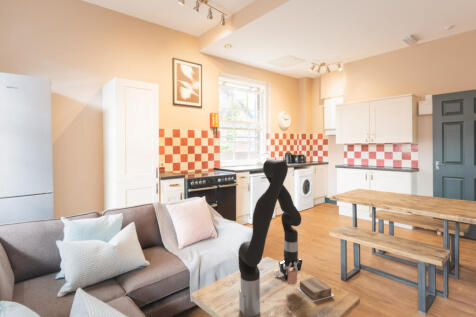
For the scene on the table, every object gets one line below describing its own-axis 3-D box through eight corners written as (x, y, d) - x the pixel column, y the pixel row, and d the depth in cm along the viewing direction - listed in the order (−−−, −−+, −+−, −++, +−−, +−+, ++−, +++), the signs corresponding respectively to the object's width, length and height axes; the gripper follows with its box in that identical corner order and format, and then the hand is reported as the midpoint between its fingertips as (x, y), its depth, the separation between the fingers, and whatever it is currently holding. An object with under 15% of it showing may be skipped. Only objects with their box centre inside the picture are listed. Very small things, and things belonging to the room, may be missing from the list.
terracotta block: (288, 283, 139) (289, 272, 138) (283, 279, 143) (284, 268, 143) (296, 282, 140) (297, 271, 140) (291, 277, 145) (291, 267, 145)
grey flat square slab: (312, 304, 131) (312, 302, 131) (296, 289, 144) (296, 287, 144) (334, 297, 137) (334, 295, 136) (317, 284, 150) (317, 282, 149)
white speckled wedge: (292, 266, 153) (272, 266, 156) (294, 281, 153) (273, 280, 156) (293, 262, 159) (273, 262, 162) (294, 275, 159) (274, 275, 162)
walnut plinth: (313, 300, 133) (313, 292, 133) (299, 288, 144) (299, 281, 144) (331, 295, 137) (331, 288, 137) (316, 284, 148) (316, 277, 148)
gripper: (283, 253, 135) (282, 285, 136) (306, 249, 140) (305, 280, 141) (275, 248, 142) (275, 278, 143) (297, 244, 147) (297, 273, 148)
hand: (290, 279), depth 142 cm, fingers closed on terracotta block, 5 cm apart
